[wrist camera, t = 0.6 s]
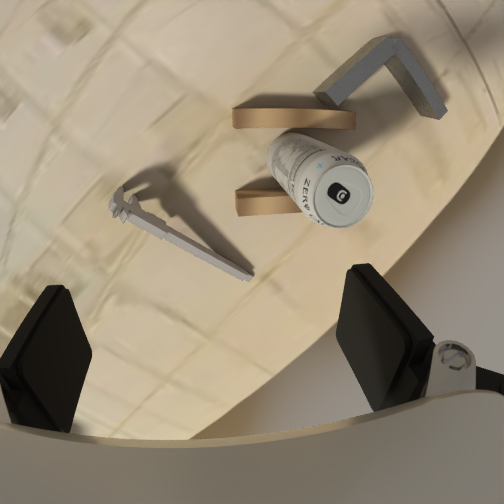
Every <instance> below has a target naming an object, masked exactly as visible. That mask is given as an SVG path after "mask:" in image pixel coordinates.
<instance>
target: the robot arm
mask: <svg viewBox="0 0 504 504" xmlns="http://www.w3.org/2000/svg"><path fill="white" fill-rule="evenodd" d="M336 337H337V341H338V343H339V345H340V347H341V349H342V351H343V353H344V354H345V356H346V358H347V360H348V362H349V364H350V366H351V368H352V370H353V372H354V374H355V376H356V378H357V380H358V382H359V384H360V386H361V388H362V390H363V392H364V394H365V396H366V398H367V400H368V402H369V404H370V406H371V408H372V409H373V411H374V412H373V413H369V414H365V415H361V416H357V417H353V418H349V419H345V420H341V421H336V422H332V423H327V424H322V425H317V426H312V427H306V428H301V429H295V430H289V431H283V432H276V433H268V434H261V435H252V436H242V437H233V438H220V439H203V440H202V439H200V440H136V439H118V438H105V437H94V436H85V435H77V434H70V433H69V432H70V430H71V426H72V422H73V418H74V414H75V411H76V407H77V404H78V400H79V397H80V393H81V390H82V387H83V384H84V380H85V377H86V374H87V371H88V368H89V365H90V362H91V359H92V350H91V347H90V344H89V342H88V340H87V337H86V335H85V332H84V330H83V327H82V324H81V322H80V319H79V317H78V314H77V311H76V308H75V305H74V303H73V300H72V297H71V294H70V291H69V290H68V289H65V287H64V286H63V285H48V286H47V287H46V288H45V289H44V291H43V292H42V294H41V295H40V296H39V298H38V299H37V301H36V302H35V304H34V305H33V307H32V308H31V310H30V311H29V313H28V314H27V316H26V317H25V319H24V320H23V322H22V323H21V325H20V327H19V328H18V330H17V331H16V333H15V335H14V336H13V338H12V339H11V341H10V343H9V344H8V346H7V348H6V350H5V351H4V353H3V355H2V357H1V358H0V504H504V375H503V374H499V373H497V372H493V371H490V370H487V369H484V368H481V367H478V366H476V360H475V356H474V354H473V352H472V351H471V350H470V349H469V348H468V347H467V346H465V345H463V344H462V343H460V342H457V341H452V340H446V341H442V342H439V343H438V344H437V345H436V344H435V343H434V342H433V338H434V336H433V335H432V333H431V332H430V331H429V330H428V329H427V327H426V326H425V325H424V324H423V323H422V322H421V320H420V319H419V318H418V317H417V316H416V315H415V313H414V312H413V311H412V310H411V309H410V308H409V306H408V305H407V304H406V303H405V302H404V301H403V299H402V298H401V297H400V296H399V295H398V294H397V293H396V292H395V291H394V289H393V288H392V287H391V286H390V285H389V284H388V283H387V282H386V281H385V279H384V278H383V277H382V276H381V275H380V274H379V273H378V272H377V271H376V270H375V269H374V267H373V266H372V265H371V264H369V263H366V264H355V265H353V266H352V267H351V269H349V270H348V271H347V273H346V279H345V285H344V291H343V297H342V303H341V308H340V314H339V319H338V324H337V329H336Z"/></svg>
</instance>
